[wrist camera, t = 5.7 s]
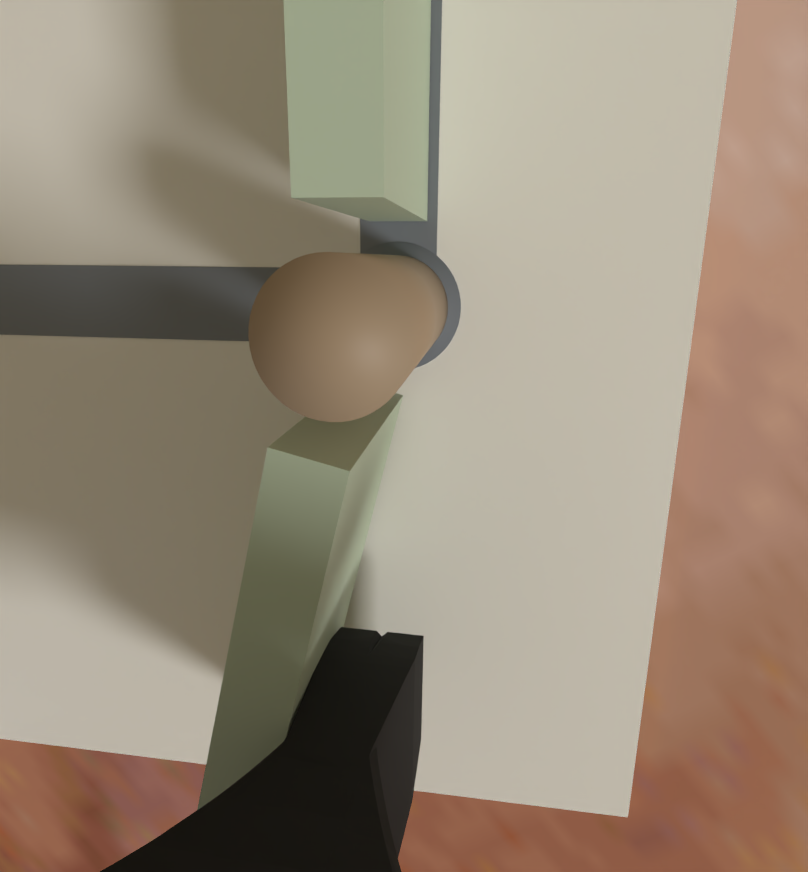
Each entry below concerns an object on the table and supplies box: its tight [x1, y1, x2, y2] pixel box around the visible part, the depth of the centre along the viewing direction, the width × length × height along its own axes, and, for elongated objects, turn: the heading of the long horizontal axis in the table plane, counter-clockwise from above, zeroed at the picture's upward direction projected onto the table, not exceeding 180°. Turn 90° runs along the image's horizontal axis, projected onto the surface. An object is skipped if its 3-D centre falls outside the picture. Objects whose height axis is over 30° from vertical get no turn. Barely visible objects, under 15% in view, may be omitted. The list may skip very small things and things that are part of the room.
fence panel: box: [198, 393, 403, 809], centre depth 9 cm, size 1×7×4 cm, turn 166°
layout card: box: [0, 0, 737, 817], centre depth 11 cm, size 14×18×1 cm
